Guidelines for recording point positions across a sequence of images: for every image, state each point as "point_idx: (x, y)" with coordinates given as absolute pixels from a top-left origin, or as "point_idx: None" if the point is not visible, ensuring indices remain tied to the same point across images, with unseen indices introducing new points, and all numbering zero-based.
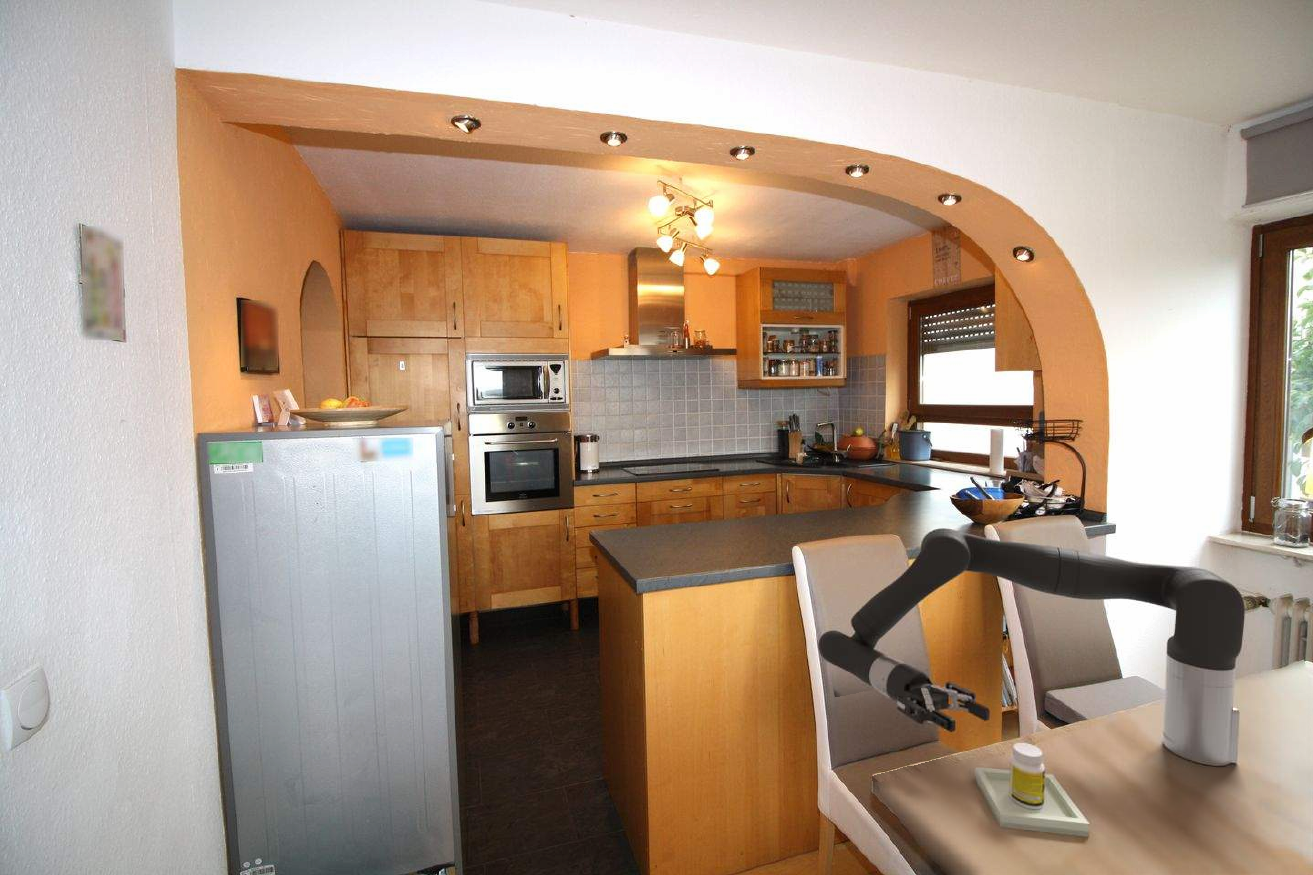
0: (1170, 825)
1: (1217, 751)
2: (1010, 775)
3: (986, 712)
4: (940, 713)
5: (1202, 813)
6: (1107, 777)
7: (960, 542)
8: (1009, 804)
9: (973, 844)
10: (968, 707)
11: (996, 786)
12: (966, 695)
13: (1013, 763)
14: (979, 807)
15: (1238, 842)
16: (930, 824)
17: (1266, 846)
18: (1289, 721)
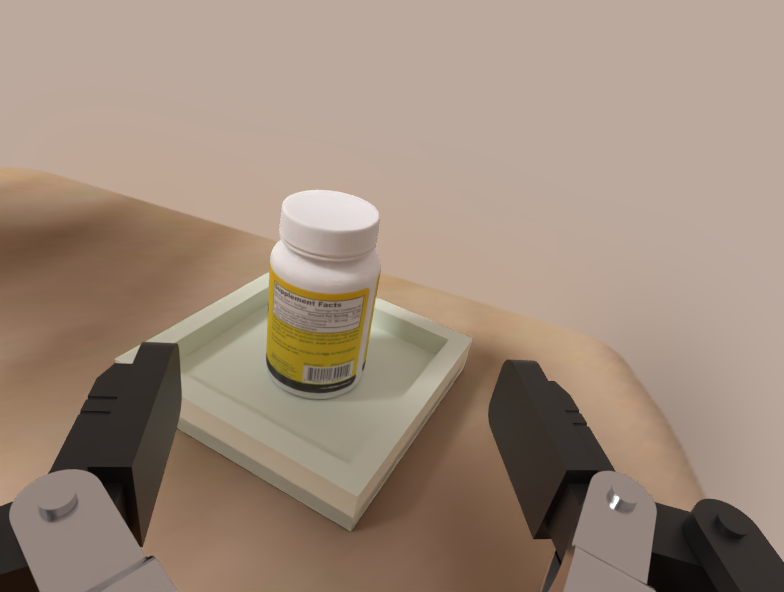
0: (70, 242)
1: None
2: (365, 325)
3: (179, 355)
4: (569, 427)
5: None
6: None
7: None
8: (383, 378)
9: (572, 365)
10: (140, 515)
11: (342, 436)
12: (20, 538)
13: (377, 271)
14: (464, 427)
15: (30, 198)
16: (658, 439)
17: (3, 183)
18: None
